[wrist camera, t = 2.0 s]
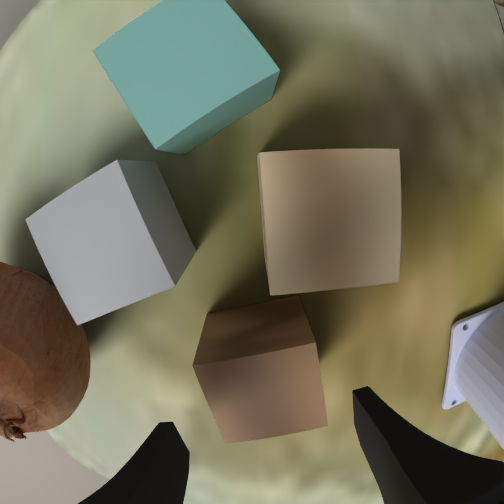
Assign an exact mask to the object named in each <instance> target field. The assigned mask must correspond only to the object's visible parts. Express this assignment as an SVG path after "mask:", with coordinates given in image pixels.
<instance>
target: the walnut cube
mask: <svg viewBox="0 0 504 504" xmlns="http://www.w3.org/2000/svg"><path fill="white" fill-rule="evenodd" d="M193 368H194V371H195V373H196V376H197V378H198V381H199V383H200V386H201V388H202V391H203V393H204V395H205V398H206V400H207V403H208V405H209V407H210V410H211V412H212V414H213V417H214V419H215V421H216V424H217V426H218V428H219V430H220V433H221V435H222V437H223V439H224V441H225V443H234V442H242V441H250V440H257V439H263V438H270V437H276V436H281V435H287V434H292V433H297V432H302V431H307V430H312V429H316V428H320V427H325V426H328V423H327V415H326V408H325V401H324V393H323V386H322V379H321V373H320V366H319V359H318V353H317V347H316V341H315V339H314V336H313V333H312V330H311V327H310V324H309V322H308V319H307V316H306V313H305V311H304V308H303V305H302V302H301V299H300V297H299V295H295V296H291V297H286V298H282V299H277V300H273V301H268V302H263V303H259V304H254V305H249V306H244V307H239V308H234V309H229V310H224V311H219V312H214V313H209V314H207V316H206V319H205V323H204V326H203V330H202V333H201V337H200V340H199V344H198V348H197V351H196V355H195V358H194V362H193Z"/></svg>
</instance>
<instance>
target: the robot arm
mask: <svg viewBox="0 0 504 504" xmlns="http://www.w3.org/2000/svg"><path fill="white" fill-rule="evenodd" d="M464 325H465V326H464ZM463 326H464V327H463ZM464 401H467V402H468V403H469V405H470V406H471V407H472V408H473V410H474V411H475V412H476V414H477V415H478V416H479V417H480V419H481V420H482V421H483V423H484V424H485V425H486V427H487V428H488V429H489V431H490V432H491V433H492V435H493V436H494V437H495V439H496V440H497V441H498V443H499V444H500V446H501V447H502V448H503V450H504V302H501V303H499V304H497V305H495V306H492V307H490V308H488V309H485V310H483V311H481V312H478V313H476V314H473V315H471V316H469V317H466V318H464V319H461V320H458V321H457V322H455V323H454V324H453V326H452V330H451V342H450V352H449V360H448V368H447V376H446V382H445V389H444V395H443V400H442V407H443V409H445V410H446V409H449V408H451V407H454V406H456V405H458V404H460V403H462V402H464ZM353 408H354V425H355V428H356V432H357V435H358V438H359V442H360V445H361V447H362V450H363V452H364V454H365V456H366V459H367V461H368V463H369V465H370V468H371V470H372V472H373V474H374V477H375V479H376V481H377V483H378V486H379V488H380V491H381V494H382V497H383V501H384V504H504V463H503V462H502V461H497V460H491V459H487V458H482V457H478V456H475V455H471V454H468V453H465V452H463V451H460V450H458V449H455V448H453V447H450V446H448V445H446V444H444V443H442V442H440V441H438V440H436V439H434V438H432V437H431V436H429V435H427V434H425V433H424V432H422V431H421V430H419V429H418V428H416V427H415V426H413V425H412V424H410V423H409V422H408V421H406V420H405V419H404V418H403V417H401V416H400V415H399V414H398V413H396V412H395V411H394V410H393V409H392V408H390V407H389V406H388V405H387V404H386V403H385V402H384V401H383V400H382V399H381V398H380V397H379V396H378V395H377V394H376V393H375V392H374V391H373V390H372V389H371V388H370V387H368V386H366V387H363V388H360V389H356V390H353ZM189 454H190V452H189V450H188V449H187V447H186V445H185V443H184V442H183V440H182V438H181V436H180V434H179V433H178V431H177V429H176V427H175V425H174V423H173V422H160V423H159V424H158V425H157V426H156V427H155V429H154V430H153V431H152V432H151V434H150V435H149V436H148V438H147V439H146V440H145V441H144V443H143V444H142V445H141V446H140V448H139V449H138V450H137V451H136V453H135V454H134V455H133V456H132V457H131V459H130V460H129V461H128V462H127V463H126V464H125V465H124V466H123V467H122V468H121V470H120V471H119V472H118V473H117V474H116V475H115V476H114V477H113V478H111V479H110V480H109V481H108V482H107V483H106V484H105V485H103V486H102V487H101V488H100V489H99V490H97V491H96V492H94V493H93V494H92V495H90V496H89V497H87V498H86V499H84V500H83V501H81V502H80V503H78V504H183V501H184V496H185V491H186V485H187V480H188V474H189Z"/></svg>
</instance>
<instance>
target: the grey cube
mask: <svg viewBox="0 0 504 504" xmlns="http://www.w3.org/2000/svg"><path fill="white" fill-rule="evenodd" d="M25 220H26V222H27V225H28V227H29V230H30V232H31V234H32V237H33V239H34V241H35V244H36V246H37V248H38V250H39V253H40V255H41V257H42V259H43V261H44V263H45V266H46V268H47V270H48V272H49V274H50V276H51V278H52V280H53V282H54V284H55V286H56V288H57V290H58V292H59V294H60V295H61V297H62V299H63V301H64V303H65V305H66V306H67V308H68V310H69V312H70V314H71V315H72V317H73V319H74V321H75V322H76V324H77V325H80V324H82V323H85V322H87V321H90V320H92V319H95V318H97V317H100V316H102V315H105V314H107V313H110V312H112V311H114V310H117V309H119V308H122V307H124V306H127V305H129V304H132V303H134V302H137V301H139V300H142V299H144V298H147V297H149V296H152V295H154V294H157V293H159V292H161V291H164V290H166V289H169V288H171V287H174V286H175V285H176V284H177V282H178V280H179V279H180V277H181V275H182V274H183V272H184V271H185V269H186V267H187V266H188V264H189V262H190V261H191V259H192V258H193V256H194V254H195V253H196V249H195V247H194V245H193V243H192V241H191V239H190V236H189V234H188V232H187V230H186V228H185V226H184V223H183V221H182V219H181V217H180V215H179V212H178V210H177V208H176V206H175V204H174V201H173V199H172V197H171V195H170V192H169V190H168V188H167V185H166V183H165V181H164V179H163V176H162V174H161V172H160V169H159V167H158V165H157V162H156V161H143V160H116V161H114V162H112V163H110V164H109V165H107V166H105V167H104V168H102V169H100V170H98V171H97V172H95V173H94V174H92V175H90V176H89V177H87V178H85V179H84V180H82V181H81V182H79V183H77V184H76V185H74V186H73V187H71V188H70V189H68V190H67V191H65V192H64V193H62V194H61V195H59V196H58V197H56V198H55V199H53V200H52V201H50V202H49V203H47V204H46V205H44V206H43V207H42V208H40V209H39V210H37V211H36V212H35V213H33V214H32V215H30V216H29V217H28V218H26V219H25Z"/></svg>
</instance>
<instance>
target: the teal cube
mask: <svg viewBox="0 0 504 504" xmlns="http://www.w3.org/2000/svg"><path fill="white" fill-rule="evenodd" d="M93 52H94V54H95V56H96V57H97V59H98V61H99V62H100V64H101V65H102V67H103V69H104V70H105V72H106V73H107V75H108V77H109V78H110V80H111V81H112V83H113V84H114V86H115V88H116V89H117V91H118V92H119V94H120V95H121V97H122V99H123V100H124V102H125V103H126V105H127V106H128V108H129V110H130V111H131V113H132V114H133V116H134V117H135V119H136V120H137V122H138V124H139V125H140V127H141V128H142V130H143V131H144V133H145V134H146V136H147V137H148V139H149V141H150V142H151V144H152V145H153V147H154V148H155V150H161V151H166V152H172V153H177V154H182V155H185V154H186V153H188V152H189V151H191V150H192V149H194V148H195V147H196V146H198V145H199V144H201V143H202V142H204V141H205V140H207V139H208V138H210V137H211V136H213V135H214V134H216V133H218V132H219V131H221V130H222V129H224V128H225V127H227V126H228V125H230V124H232V123H233V122H235V121H236V120H238V119H240V118H241V117H243V116H244V115H246V114H248V113H249V112H251V111H253V110H254V109H256V108H258V107H259V106H261V105H263V104H265V103H266V102H268V101H270V100H271V99H272V95H273V92H274V89H275V85H276V82H277V79H278V76H279V72H280V69H279V68H278V66H277V65H276V64H275V62H274V61H273V60H272V58H271V57H270V56H269V54H268V53H267V52H266V50H265V49H264V48H263V47H262V45H261V44H260V43H259V41H258V40H257V39H256V38H255V36H254V35H253V34H252V33H251V31H250V30H249V29H248V28H247V26H246V25H245V24H244V23H243V21H242V20H241V19H240V18H239V17H238V15H237V14H236V13H235V12H234V11H233V10H232V8H231V7H230V6H229V5H228V4H227V3H226V1H225V0H164V1H162V2H161V3H159V4H158V5H156V6H154V7H153V8H151V9H150V10H148V11H147V12H145V13H143V14H142V15H140V16H139V17H138V18H136V19H135V20H133V21H132V22H130V23H129V24H127V25H126V26H125V27H123V28H122V29H120V30H119V31H118V32H116V33H115V34H114V35H112V36H111V37H110V38H108V39H107V40H106V41H105V42H103V43H102V44H101V45H99V46H98V47H97V48H96V49H95V50H93Z"/></svg>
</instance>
